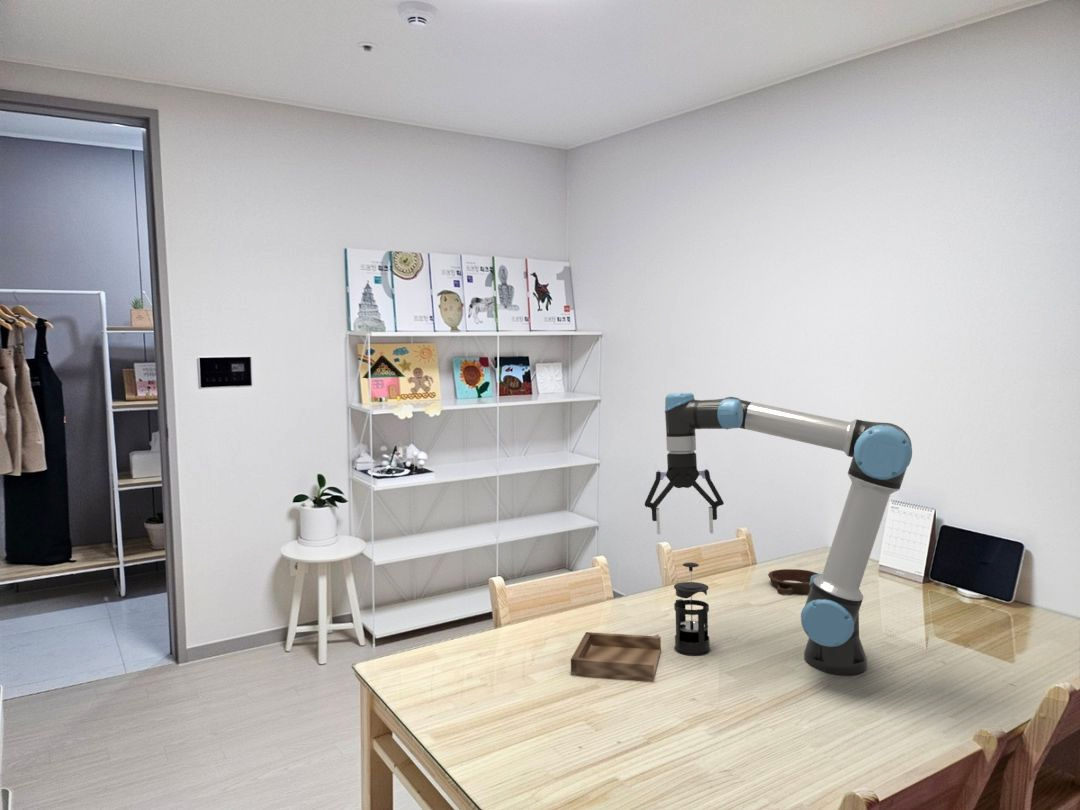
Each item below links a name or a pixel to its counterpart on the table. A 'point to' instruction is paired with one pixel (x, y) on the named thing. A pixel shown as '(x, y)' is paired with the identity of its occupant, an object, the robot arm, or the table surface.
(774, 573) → the dish
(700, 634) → the french press
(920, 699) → the table surface
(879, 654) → the table surface
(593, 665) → the wooden tray
